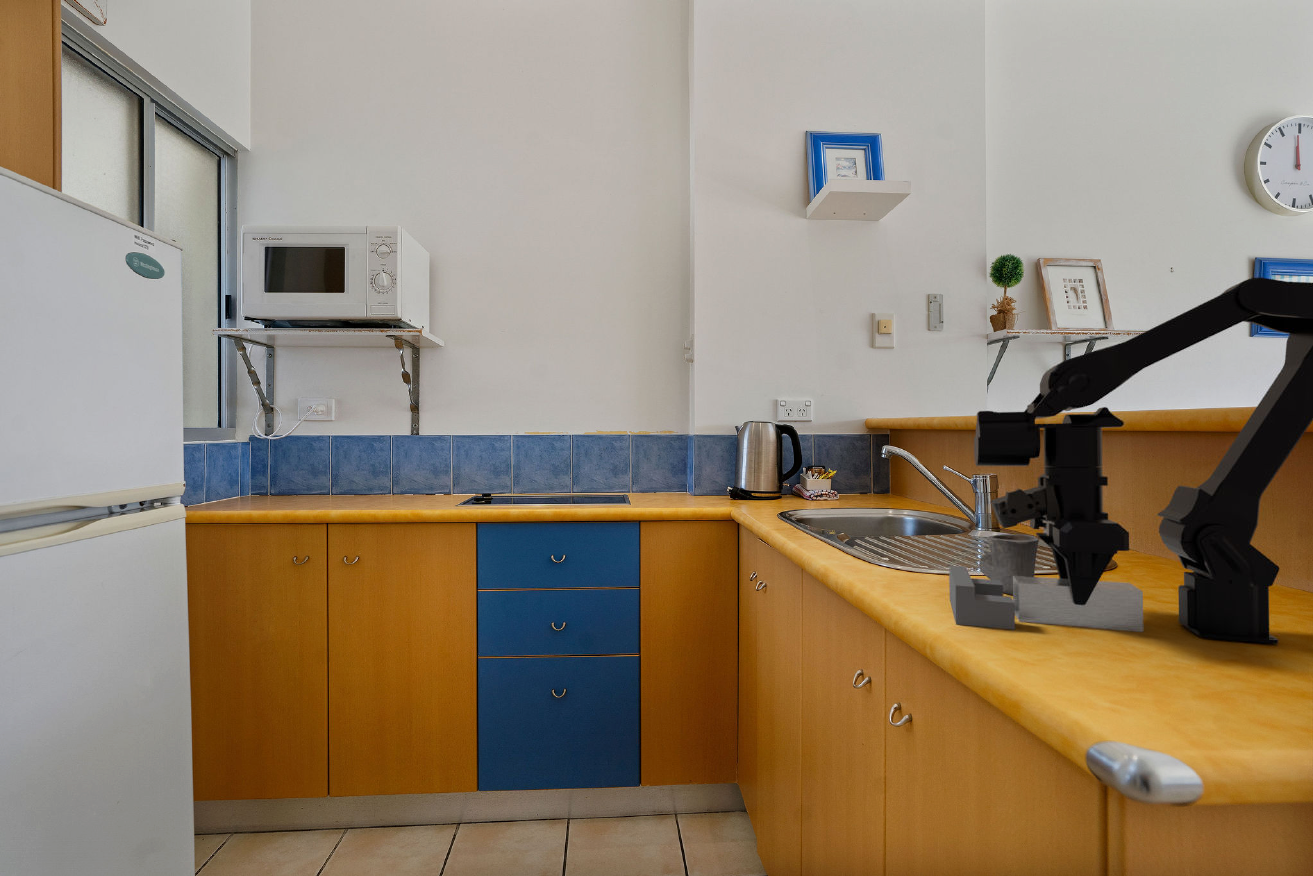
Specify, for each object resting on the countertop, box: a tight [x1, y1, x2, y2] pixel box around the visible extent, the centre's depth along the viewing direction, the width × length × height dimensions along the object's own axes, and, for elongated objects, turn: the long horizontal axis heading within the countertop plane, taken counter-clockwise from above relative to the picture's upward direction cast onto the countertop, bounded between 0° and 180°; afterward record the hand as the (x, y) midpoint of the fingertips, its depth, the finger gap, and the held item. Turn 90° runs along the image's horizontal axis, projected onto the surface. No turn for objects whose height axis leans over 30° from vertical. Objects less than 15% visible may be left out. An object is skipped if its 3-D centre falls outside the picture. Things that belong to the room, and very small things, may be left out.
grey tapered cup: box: [978, 533, 1040, 596], centre depth 90 cm, size 6×13×8 cm, turn 174°
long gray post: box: [1012, 576, 1144, 633], centre depth 74 cm, size 12×4×4 cm, turn 68°
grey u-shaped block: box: [948, 565, 1016, 630], centre depth 78 cm, size 6×12×4 cm, turn 158°
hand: (1074, 599), depth 74 cm, fingers closed on long gray post, 4 cm apart
